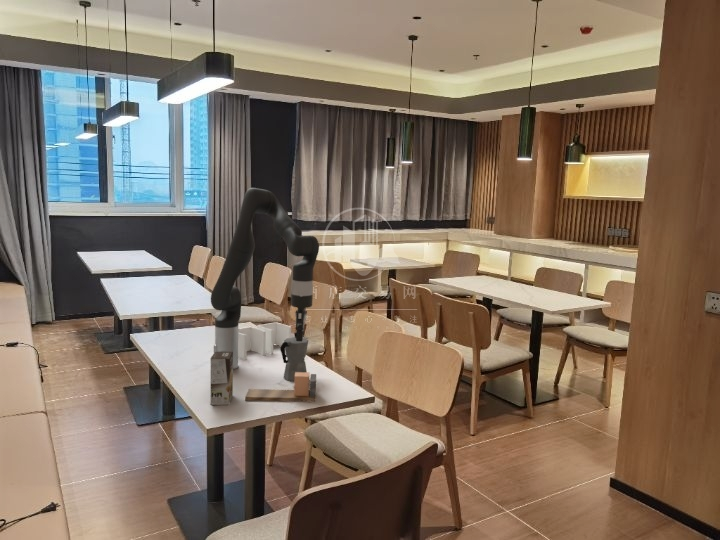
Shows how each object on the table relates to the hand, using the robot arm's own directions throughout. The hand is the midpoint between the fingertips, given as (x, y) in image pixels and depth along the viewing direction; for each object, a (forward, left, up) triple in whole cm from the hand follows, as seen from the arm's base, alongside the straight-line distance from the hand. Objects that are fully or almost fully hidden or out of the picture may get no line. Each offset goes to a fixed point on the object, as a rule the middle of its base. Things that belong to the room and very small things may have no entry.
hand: (300, 337), depth 204 cm
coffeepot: (-3, +17, -21) cm, 27 cm away
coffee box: (-26, -7, -21) cm, 34 cm away
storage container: (-20, +53, -21) cm, 60 cm away
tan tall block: (+1, -3, -19) cm, 20 cm away
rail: (-6, -3, -21) cm, 22 cm away
